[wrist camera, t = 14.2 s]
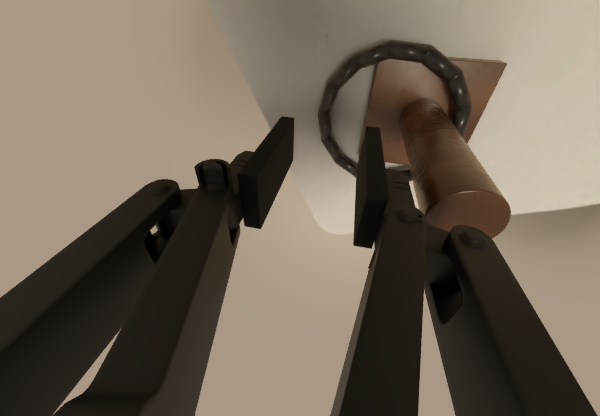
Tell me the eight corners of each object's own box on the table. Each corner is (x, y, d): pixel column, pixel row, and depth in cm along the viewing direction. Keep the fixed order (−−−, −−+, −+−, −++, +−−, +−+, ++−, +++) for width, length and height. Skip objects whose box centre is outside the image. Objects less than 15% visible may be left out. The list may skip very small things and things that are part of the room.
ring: (327, 31, 17) (323, 33, 16) (509, 52, 15) (513, 56, 14) (314, 163, 25) (311, 168, 24) (431, 192, 22) (432, 198, 22)
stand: (379, 52, 18) (387, 107, 8) (501, 60, 16) (692, 138, 7) (358, 153, 23) (347, 263, 13) (450, 165, 22) (516, 297, 12)
